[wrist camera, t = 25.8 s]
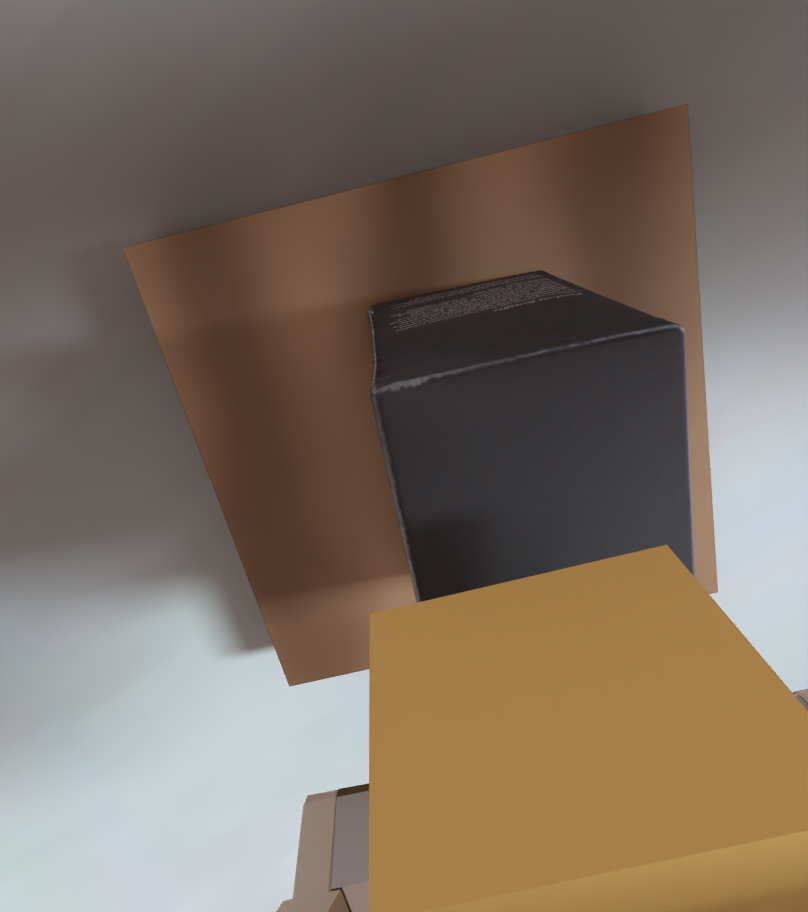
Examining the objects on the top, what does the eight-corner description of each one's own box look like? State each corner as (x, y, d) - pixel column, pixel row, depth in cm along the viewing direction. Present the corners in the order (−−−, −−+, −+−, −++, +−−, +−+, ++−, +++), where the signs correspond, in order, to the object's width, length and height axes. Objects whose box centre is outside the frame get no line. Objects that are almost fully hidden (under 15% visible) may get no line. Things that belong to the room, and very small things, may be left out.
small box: (587, 539, 25) (719, 754, 16) (422, 572, 26) (452, 804, 16) (556, 262, 22) (707, 319, 12) (362, 304, 22) (353, 394, 12)
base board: (649, 115, 23) (687, 104, 20) (685, 554, 29) (718, 592, 27) (152, 241, 24) (122, 247, 21) (297, 640, 30) (289, 686, 27)
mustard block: (666, 544, 11) (893, 812, 6) (689, 766, 13) (877, 1102, 8) (369, 614, 11) (368, 922, 6) (435, 821, 13) (471, 1179, 8)
